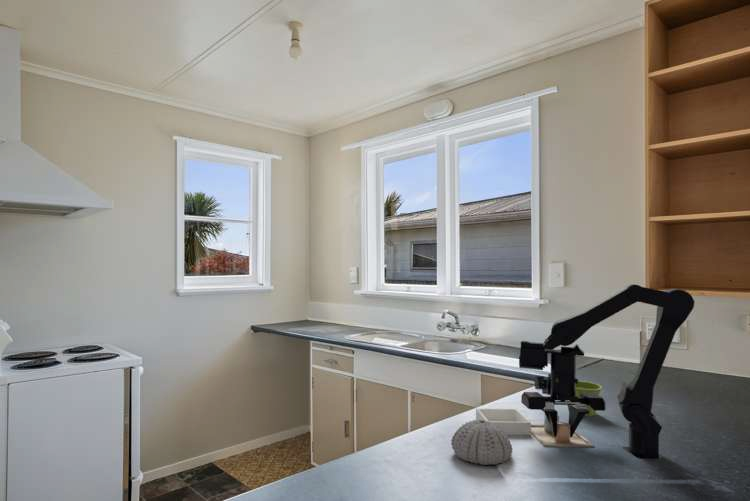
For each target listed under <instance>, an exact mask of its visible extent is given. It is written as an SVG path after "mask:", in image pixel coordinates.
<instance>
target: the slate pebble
mask: <svg viewBox="0 0 750 501" xmlns="http://www.w3.org/2000/svg"><path fill="white" fill-rule="evenodd" d="M543 414H544V415H543V416H544V418H543V420H544V423H543V424H544V431H545V432H548V433H552V432H551V429H550V426H549V423H548V420H547V417H546V415H545V413H543ZM557 421H560V415H559V414H557Z"/></svg>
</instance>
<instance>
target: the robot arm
mask: <svg viewBox="0 0 750 501" xmlns="http://www.w3.org/2000/svg"><path fill="white" fill-rule="evenodd" d="M638 302H639V303H643V304H646V305H651V306H654V307H656V315H655V316H656V317H655V325H654V328H653V330H652V332H651V336H650V338H649V341H648V342H647V346H646V348H645V352H644V353H643V354H642V358H641V361H640V363H639V366H638V368H637V371H636V373H635V376H634V378H633V380H632V381H631V382H629V384H628V383H626V382H625V381H623V382H622V384H621V390H620V391H619V393H618V394H617V395H616V397H617V399H618V406H619V409H620V411H621V413H622V415H623V417H624V419H625V420H626V421H627V422H628V428H629V429H628V446H622V449H623V450H625V451H627V452H628V453H630V454H631V455H633V456H634V457H635V458H636V459H641V460H643V459H645V460H646V459H648V460H651V459H653V460H660V459H661V460H665V459H666V457H664V456H663V455H661V454H660V452H659V451H660V449H659V447H660V433H661V430H662V428H663V426H662V425H661V423H660V422H659V420H658V419H657V417H656V416H655V414H653V412H652V409H653V408H652V407H653V402H654V400H653V399H654V389H655V385H656V383H657V380H658V377H659V375H660V373H661V371H662V370H661V369H662V368H663V365H664V362H665V359H666V358H667V355H668V352H669V350H670V347H671V344H672V343H673V340H674V337H675V335H676V332H677V331H678V330H679V328H680V327H681V326H682V325H683V324H684V323H685V321H686V320H687V319H688V318H689V315H690V314H691V313H692V311H693V309H694V308H695V299H694V298H693V296H692V295H691V294H690V293H689V292H687V291H686V290H683V289H677V288H668V289H665V290H660V289H655V288H649V287H645V286H644V287H643V286H641V285H638V284H635V283H633V284H628V285H627V286H626V287H625V288H623V289H622V290H621V289H620V291H618V292H616V293H614V294H613V295H610V296H609V297H608V298H606V299H604V300H602V301H600V302H599V303H596V304H595V305H593V306H592V307H590V308H588V309H586V310H584V311H582V312H580V313H577V314H574V315H570V316H567V317H564V318H562V319H558V320H557V321H555V322H553V324H552V326H551V330H550V333H549V335H548V336H547V338H544V341H543V342H535V341H529V340H528V341H527V340H521V342H520V348H519V350H520V351H519V355H518V362H519V363H518V365H519V369H526V370H527V369H529V370H537V371H543V370H544V368H547V367H548V365H549V364H548V363H549V354H550V372H549V373H548V375H547V379H546V378H545V376H542V375H541V376H539V375H536V376H535V377H534V388H535V390H541V391H542V392H541V393H542V394H543V395H545V396H543V395H542V394H541V393H539V392H538V391H524V392H523V393H522V395H521V398H520V399H521V402H520V403H522V405H523V406H524V407H526V408H527V409H529V410H534V411H537V410H538V411H540V410H541V411H542V412H544V413H543V414H545V415H546V417H547V420H548V423H549V426H550V429H551V432H552V435H553V436H554V437H556V434H557V415H559V414H558V411H557V410H556V409H555V405H557V406H567V408H568V423H569V424H570V437H572V436H573V434H574V432H575V431H577V428H578V427H579V425H580V423H581V422H582V420H583V419H584V417H586V416H585V415H586V414H589V411H588V410H587V405H590V407H591V408H592V409H593V410H594V411H596V412H597V411H600V412H602V411H603V412H605V411H606V410H607V409H606V405H607V404H606V403H607V402H606V401H605V399H604V398H603V397H602V396H600V395H599V396H598V395H596V394H595V393H580V395H579V397H578V396H576V395H575V394H576V384H578V381H579V379H578V378H577V372H576V371H577V369H576V368H577V356H578V357H584V356H585V352H584V350H583V349H582V348H580V346H579V344H575V345H574V346H572V344H574V343H575V342H576V341H578V340H579V338H581V337H582V336H583V335H585V333H587V331H589V330H590V329H591V328H592V327H594V326H595V325H597V324H600V322H603V321H605V320H607V319H608V318H610V317H612V316H614V315H615V314H618V313H619V312H621V311H623V310H624V309H626V308H629V307H630V306H632V305H633V304H637V303H638ZM570 345H571V347H570ZM558 347H560V349H556V348H558ZM546 395H547V396H546Z"/></svg>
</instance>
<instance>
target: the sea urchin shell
mask: <svg viewBox="0 0 750 501" xmlns="http://www.w3.org/2000/svg"><path fill="white" fill-rule="evenodd" d="M450 441H451V443H450V445H451V449H453V451H454V454H455V455H456V456H457V458H460V459H462V460H463V461H465V462H470V463H472V464H475V465H476V464H480V465H482V466H484V465H485V466H487V465H489V466H490V465H491V466H492V465H498V464H503V463H505V462H508V460H510V459H511V457H512V454H513V446H512V444H511V440H510V439H509V438H508V435H505V432H503V431H502V429H500V428H499V426H497V425H496V424H494V423H492V422H489V421H485V420H480V419H477V420H476V419H473V420H471V421H470V420H469V421H465V423H464V424H462V425H461V426H459V427H458V428H457V430H456V431H455V432H454V433H453V436H452V438H451V440H450Z"/></svg>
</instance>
